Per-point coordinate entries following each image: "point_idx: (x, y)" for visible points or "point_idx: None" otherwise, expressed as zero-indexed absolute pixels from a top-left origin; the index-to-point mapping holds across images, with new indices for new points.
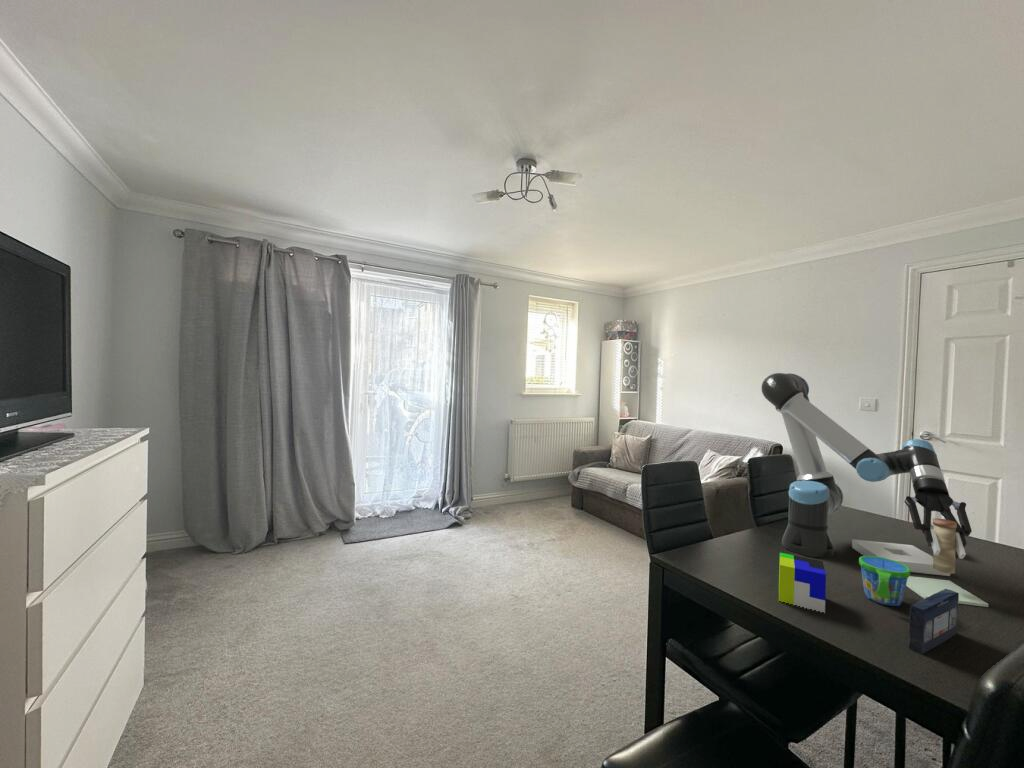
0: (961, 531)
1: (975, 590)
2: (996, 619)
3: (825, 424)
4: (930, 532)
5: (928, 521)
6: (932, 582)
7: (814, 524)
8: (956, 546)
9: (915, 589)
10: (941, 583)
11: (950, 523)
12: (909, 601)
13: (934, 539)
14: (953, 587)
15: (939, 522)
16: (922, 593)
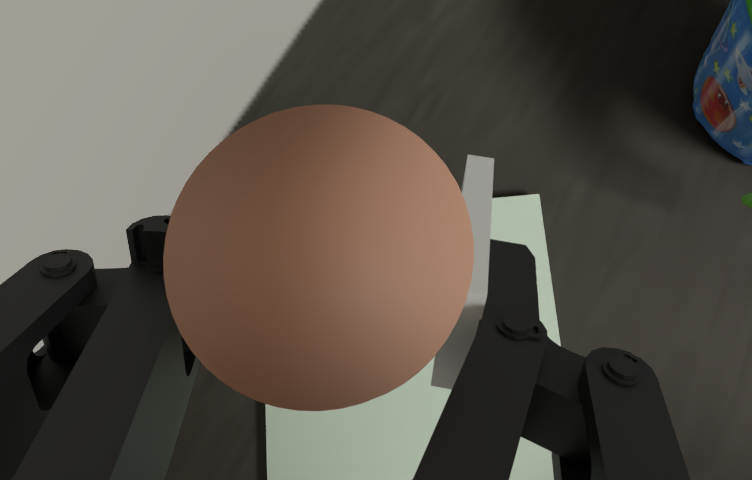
0: None
1: (183, 445)
2: (317, 96)
3: None
4: (488, 298)
5: (482, 399)
6: (393, 436)
7: None
8: None
9: (550, 274)
10: (345, 441)
11: (305, 122)
12: (629, 141)
13: (487, 210)
14: None
15: (436, 162)
16: (536, 229)
